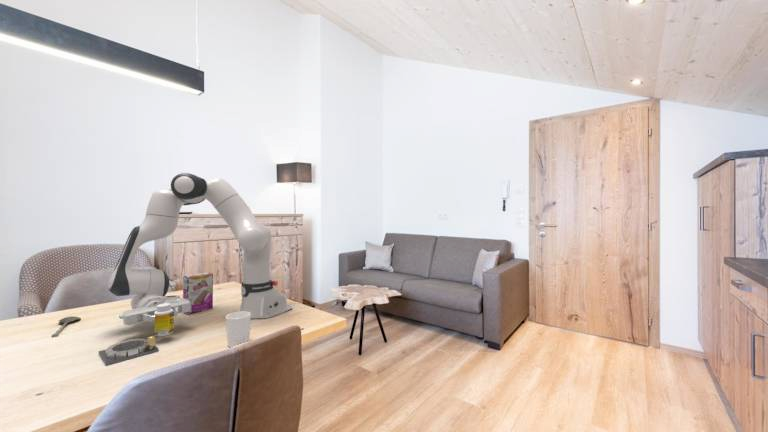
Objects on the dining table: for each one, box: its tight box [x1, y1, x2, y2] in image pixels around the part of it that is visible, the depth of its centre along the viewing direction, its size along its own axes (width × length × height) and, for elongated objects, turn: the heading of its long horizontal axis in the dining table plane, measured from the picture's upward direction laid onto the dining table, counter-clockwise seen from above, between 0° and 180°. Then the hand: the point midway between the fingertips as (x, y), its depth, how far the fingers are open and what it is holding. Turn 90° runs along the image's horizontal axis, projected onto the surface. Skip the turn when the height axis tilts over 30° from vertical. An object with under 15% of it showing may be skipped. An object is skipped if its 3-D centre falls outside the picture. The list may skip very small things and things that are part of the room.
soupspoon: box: [51, 315, 81, 338], centre depth 125 cm, size 22×3×7 cm
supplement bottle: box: [153, 303, 175, 337], centre depth 113 cm, size 6×6×10 cm
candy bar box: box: [182, 272, 214, 315], centre depth 147 cm, size 11×5×16 cm, turn 144°
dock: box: [98, 334, 160, 366], centre depth 104 cm, size 13×12×5 cm
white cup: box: [225, 311, 252, 348], centre depth 110 cm, size 8×8×10 cm
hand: (164, 316), depth 113 cm, fingers closed on supplement bottle, 6 cm apart
